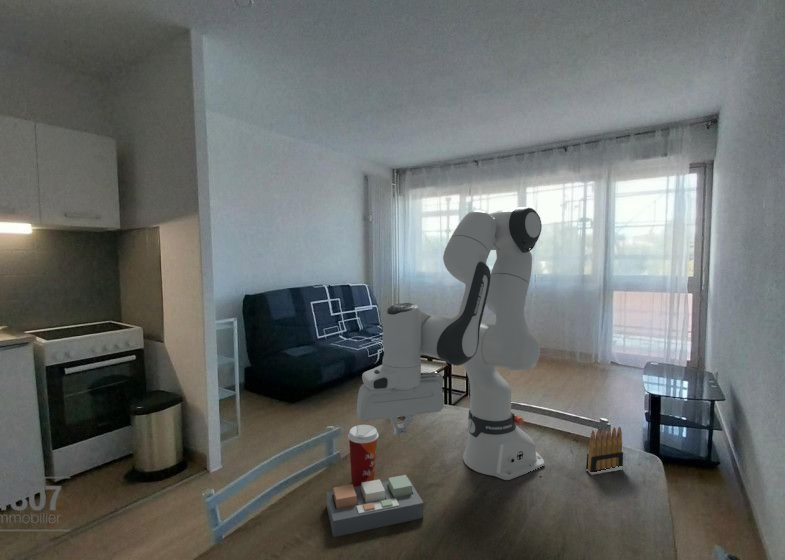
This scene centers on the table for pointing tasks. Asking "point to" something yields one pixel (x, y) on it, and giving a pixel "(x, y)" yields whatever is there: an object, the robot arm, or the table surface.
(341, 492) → the key terracotta
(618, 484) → the table surface
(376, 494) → the key white
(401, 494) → the key sage
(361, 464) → the paper cup
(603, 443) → the ammunition clip
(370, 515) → the keypad housing
